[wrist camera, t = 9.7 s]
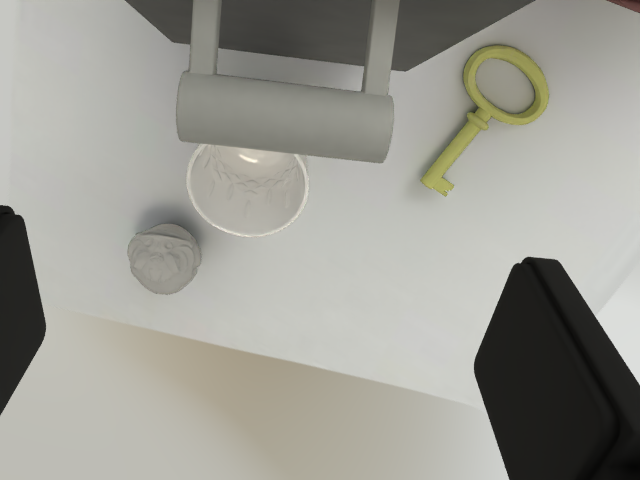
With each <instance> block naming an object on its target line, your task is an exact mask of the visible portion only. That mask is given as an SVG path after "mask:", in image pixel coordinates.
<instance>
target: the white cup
mask: <svg viewBox="0 0 640 480" xmlns="http://www.w3.org/2000/svg"><path fill="white" fill-rule="evenodd" d="M186 184H187V190H188V194H189V197H190V200H191V202H192V204H193V205H194V207H195V209H196V210H197V211H198V213H199V214H200V215H201V216H202V217H203V218H204V219H205V220H206V221H207V222H209V223H210V224H211V225H213V226H214V227H216V228H218V229H219V230H221V231H224V232H226V233H229V234H232V235H236V236H241V237H261V236H267V235H270V234H273V233H276V232H278V231H280V230H282V229H284V228H286V227H287V226H289V225H290V224H291V223H292V222H293V221H294V220H295V219H296V218H297V217H298V216H299V215H300V213H301V212H302V210H303V208H304V206H305V204H306V201H307V198H308V193H309V179H308V169H307V158H306V155H300V154H291V153H282V152H273V151H264V150H255V149H245V148H236V147H227V146H218V145H209V144H200V143H199V145H198V147H197V148H196V150H195V152H194V154H193V156H192V158H191V160H190V162H189V165H188V168H187V174H186Z"/></svg>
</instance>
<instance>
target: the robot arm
mask: <svg viewBox="0 0 640 480" xmlns="http://www.w3.org/2000/svg"><path fill="white" fill-rule="evenodd" d="M45 332H46V323H45V317H44V312H43V308H42V303H41V298H40V293H39V288H38V284H37V279H36V274H35V269H34V265H33V260H32V255H31V250H30V246H29V241H28V236H27V231H26V227H25V222H24V219H23V218H22V216H20V215H15V213H14V211H13V209H12V208H11V207H9V206H3V205H0V415H1V413H2V412H3V410H4V408H5V406H6V405H7V403H8V401H9V399H10V397H11V396H12V394H13V392H14V391H15V389H16V387H17V386H18V384H19V382H20V380H21V379H22V377H23V375H24V373H25V371H26V370H27V368H28V366H29V365H30V363H31V361H32V359H33V358H34V356H35V354H36V352H37V351H38V349H39V347H40V346H41V344H42V341H43V340H44V336H45ZM474 373H475V377H476V380H477V383H478V386H479V389H480V392H481V395H482V398H483V401H484V404H485V407H486V410H487V413H488V416H489V419H490V422H491V425H492V428H493V431H494V434H495V438H496V440H497V444H498V447H499V450H500V452H501V456H502V459H503V461H504V464H505V468H506V471H507V474H508V477H509V480H640V385H639V383H638V382H637V380H636V379H635V377H634V376H633V374H632V373H631V371H630V369H629V368H628V366H627V365H626V363H625V362H624V360H623V359H622V357H621V356H620V354H619V353H618V351H617V350H616V348H615V346H614V345H613V343H612V342H611V340H610V339H609V338H608V336H607V334H606V333H605V331H604V330H603V328H602V326H601V325H600V323H599V322H598V320H597V319H596V317H595V316H594V314H593V313H592V311H591V309H590V308H589V306H588V305H587V303H586V302H585V300H584V299H583V297H582V296H581V294H580V293H579V291H578V290H577V288H576V286H575V285H574V283H573V282H572V280H571V279H570V277H569V276H568V274H567V273H566V271H565V270H564V268H563V266H562V265H561V263H560V262H559V261H558V260H555V259H545V258H535V257H527V258H525V259H524V260H523V261H522V263H517V264H515V265H514V266H513V268H512V269H511V272H510V274H509V277H508V279H507V282H506V284H505V286H504V289H503V291H502V294H501V296H500V299H499V301H498V304H497V306H496V309H495V311H494V313H493V316H492V318H491V321H490V323H489V326H488V328H487V331H486V333H485V335H484V338H483V340H482V343H481V345H480V348H479V350H478V353H477V355H476V358H475V362H474Z"/></svg>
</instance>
